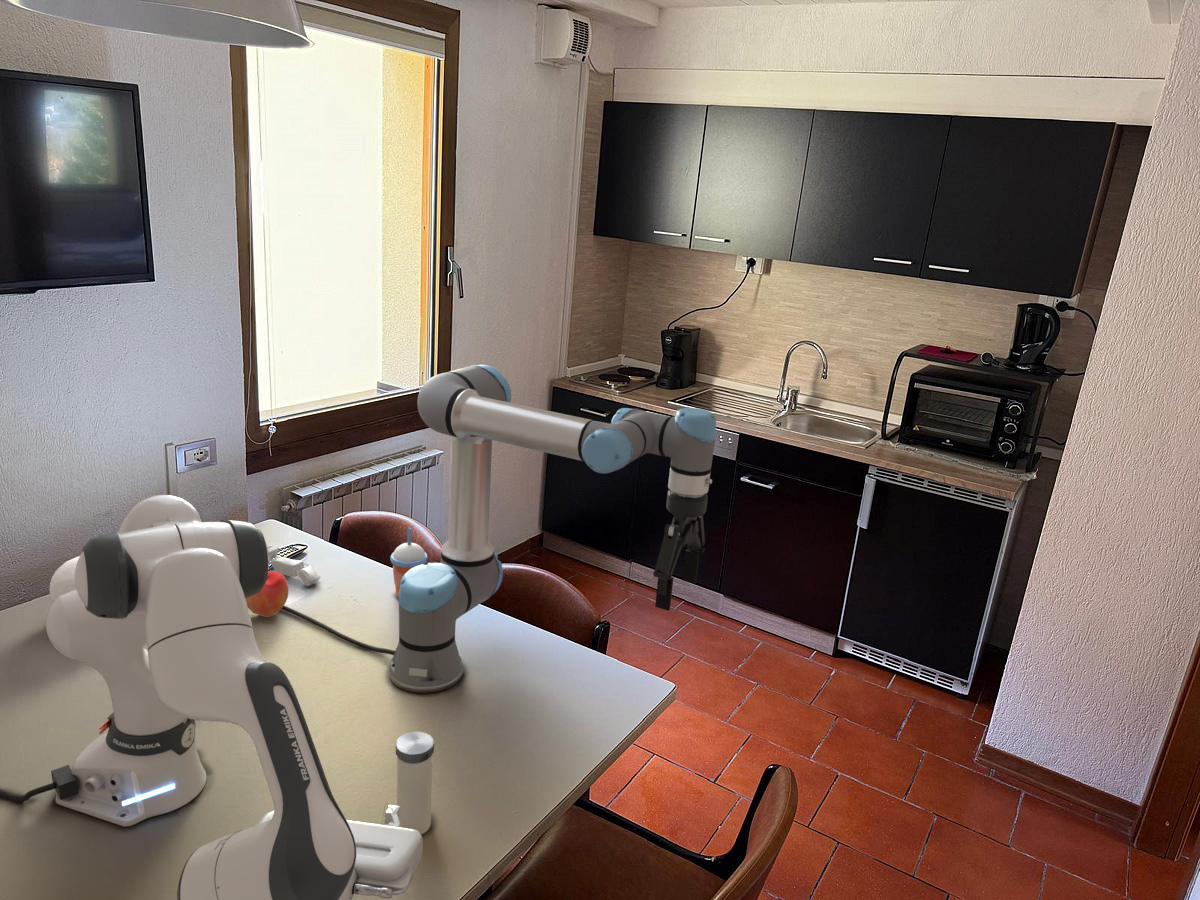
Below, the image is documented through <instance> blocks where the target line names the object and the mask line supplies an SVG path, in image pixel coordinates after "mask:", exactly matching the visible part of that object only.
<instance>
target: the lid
mask: <svg viewBox="0 0 1200 900" xmlns="http://www.w3.org/2000/svg"><path fill="white" fill-rule="evenodd" d="M434 752H435V741H434V738H433V736H431V735H430V734H429V733H426V732H423V731H410V732H406V733H404V734H402V735H401V736H399V737H398V739H397V740H396V743H395V755H396V758H397V757H398V758H399V759H400V760H401V761H404V762H407V763H420V762H423V761H425V760H427V759H429V758H430V757H431V756H432V757H433V755H434Z"/></svg>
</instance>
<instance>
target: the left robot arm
mask: <svg viewBox="0 0 1200 900" xmlns="http://www.w3.org/2000/svg"><path fill="white" fill-rule="evenodd" d="M268 546H269V545H268V544H267V541H266V538H265V536H264V534H263V532H262V530H260V529H259V528H258V527H256V526H255V525H254V524H252V523H251V522H247V521H241V520H233V519H220V520H219V521H202V519H201V516H200V514H199V512H198V511H197V509H196V508H195V506H193V505H192V504H191V503H190V502H188V500H185V499H184V498H182V497H179V496H175V495H172V494H171V495H170V494H159V495H158V494H157V495H153V496H149V497H146V498H144V499H142V500H141V501H139V502H138V503H136V504H135V505H134V506H132V508H131V509H130V511H129V512H128V513H127V515H126V517H125V518H124V520H123V522H121V525H120V527H119V529H118V531H113V532H109V533H105V534H101V535H97V536H94V537H92V538H90V539H89V540H88V541H87V542H86V543H85V545H84V546H83V547H82V548H81V553H80V555H79V556H80V557H79V559H78V562H77V565H76V569H75V586H76V590H74V591H71V592H69V593H66V594H64V595H61V596H59V597H58V598H57V599H56V600H55V601H54V603H53V602H52V604H51V606H50V608H49V610H48V612H47V615H46V623H45V629H46V633H47V637H48V639H49V641H50V643H51V645H52V646H53V647H54V648H55V650H57V652H59V653H60V654H61V655H63V656H65V657H67V658H69V659H71V660H72V659H73V660H76V661H79V662H82V663H84V664H86V665H88V666H90V667H91V668H92V669H94V670H95V671H97V672H98V673H99V675H101V676H102V678H103V679H104V681H105V683H106V685H107V688H108V691H109V695H110V699H111V703H112V704H111V705H112V710H113V712H112V713H111V714H109V716H107V720H105V722H103V723H102V724H101V725H100V726H99V728H98V730H100V731H99V736H98V737H96V738H95V739H94V740H93V741H91V742H90V743H89V744H88V745H87V746H86V747H85V748H84V749H83V750H82V751H81V752H80V753H79V754H78V755H77V758H76V759H75V761H74V763H73V766H72V767H71V766H70V764H67V765H64V766H61V767H57V768H55V769H52V770H51V771H50V775H51V781H52V782H51V783H48V784H45V785H41V786H38V787H35V788H33V789H30V790H29V791H27V792H26V793H25V794H16V793H12V792H9V791H6V790H4V789H1V788H0V797H1V798H3V799H7V800H10V801H13V802H20V803H21V802H22V803H23V802H27V801H29V800H30V799H31V798H32V797H34V796H37V795H40V794H42V793H46V792H49V791H52V790H55V792H56V794H55V804H56V805H59V806H61V807H65V808H67V809H70V810H73V811H77V812H80V813H82V814H86V815H88V816H91V817H94V818H98V819H100V820H102V821H106V822H109V823H112V824H116V825H118V826H120V827H124V828H125V827H131V826H133V825H136V824H139V823H140V822H142V821H144V820H146V819H149V818H152V817H156V816H160V815H164V814H167V813H170V812H173V811H175V810H177V809H180V808H182V807H183V806H186V805H187V804H188V803H190V802H191V801H193V800H194V799H196V797H197V796H199V794H200V793H201V792H202V791H203V789H204V787H205V786H206V783H207V772H206V770H205V767H204V766H203V763H202V761H201V758H200V755H199V753H198V749H197V745H196V739H195V738H196V721H202V722H203V721H204V722H221V723H230V724H233V725H236V726H239V727H240V728H242V729H243V730H244V731H246V733H247V734H248V736H249V737H250V738H251V740H252V742H253V744H254V748H255V750H256V752H257V757H258V760H259V763H260V764H261V768H262V771H263V774H264V777H265V782H266V784H267V787H268V789H269V794H270V797H271V798H272V799H271V800H272V802H273V807H274V808H273V809H274V810H271V811H268V812H266V813H264V815H263V816H262V817H261V819H260V820H259V821H258V823H257V824H256V825H253V826H249V827H247V828H245V829H240V830H237V831H235V832H233V833H229V834H226V835H225V836H221V837H219V838H217V839H215V840H213V841H210V842H208V843H204V844H202V845H201V846H198V847H197V848H196V849H195V850H194V851H193V852H192V853H191V855H190V856H189V857H188V859H187V860H186V862H185V863H184V866H183V868H182V871H181V873H180V876H179V880H178V885H177V892H176V893H177V894H176V900H352V899H353V897H354V895H360V896H369V897H371V896H372V897H373V896H374V897H379V898H381V899H391V898H392V897H393V896H399V895H401V894H404V893H406V892H407V891H408V889H409V887H410V885H411V882H412V879H413V874H414V873H415V871H416V869H417V867H418V866H419V864H420V861H421V859H422V855H423V847H424V846H423V845H424V844H423V836H422V834H420V833H419V831H418V830H415V829H407V828H400V822H399V818H400V814H401V806H397V805H394V804H388V805H387V809H386V810H385V813H384V818H385V819H384V823H385V824H379V823H372V822H366V821H357V820H350V819H346V817H345V815H344V814H343V812H342V810H341V808H340V807H339V804H338V803H337V801H336V799H335V797H334V795H333V792H332V790H331V788H330V785H329V782H328V779H327V776H326V774H325V771H324V768H323V765H322V762H321V759H320V757H319V753H318V751H317V749H316V745H315V744H314V743H315V742H314V740H313V738H312V734H311V732H310V729H309V725H308V723H307V721H306V718H305V715H304V712H303V710H302V707H301V705H300V702H299V699H298V697H297V695H296V692H295V690H294V688H293V685H292V683H291V681H290V679H289V677H288V676H287V674H286V673H285V671H284V670H283V669H282V668H280V666H278V665H277V664H276V663H273V662H269V661H267V660H266V659H265V657H264V656H263V654H262V653H261V651H260V649H259V646H258V644H257V642H256V639H255V634H254V628H253V625H252V618H251V615H250V610H249V609H248V606H247V602H246V599H245V598H248V597H251V596H253V595H255V594H257V593H259V592H260V591H261V589H262V588H263V586H264V585H265V583H266V580H267V576H268V570H269V565H270V555H269V550H268ZM145 647H146V648H145ZM107 729H108V730H107ZM106 730H107V731H106ZM105 731H106V732H105Z"/></svg>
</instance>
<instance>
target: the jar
mask: <svg viewBox="0 0 1200 900" xmlns="http://www.w3.org/2000/svg"><path fill="white" fill-rule="evenodd" d="M432 785H433V755H432V756H431V757H430V758H429V759H427V760H425V761H423V762H420V763H407V762H404V761H401V760H400V759H399V758H398V757H397V756H396V806H401V814H400V818H399V822H400V828H407V829H415V830H418V831H419V833H420V834H421V835H423V834H425V833H427V832H428V831H429V829H430V828H431V824H432V793H433V792H432V790H433V789H432V788H433V787H432Z"/></svg>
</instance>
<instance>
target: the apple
mask: <svg viewBox="0 0 1200 900" xmlns="http://www.w3.org/2000/svg"><path fill="white" fill-rule="evenodd" d="M288 597H289V584H288V581H287V579H286V577H285V575H282V574H281V573H278V572H275V571H268V576H267V580H266V583H265V585H264V586H263V588H262V589H261V591H260V592H259V593H257V594H255V595H253V596H251V597H248V598H245V599H246V602H247V606H248V610H249V612H252V613H253V614H255V615H257V616H261V617H265V618H269V617H273V616H275V615H276V614H278V613H279V612H280V611H281V610H282V609H281V608H282V607H283V606H285V605H286V603H287V600H288Z"/></svg>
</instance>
